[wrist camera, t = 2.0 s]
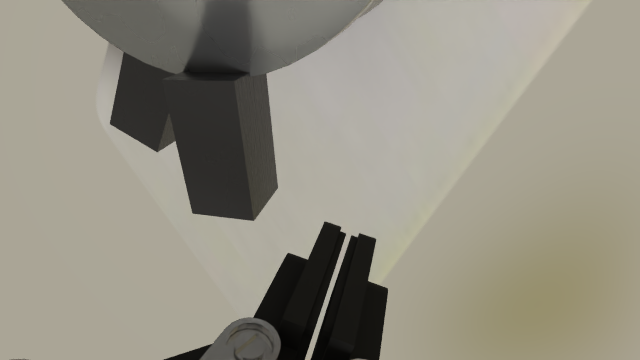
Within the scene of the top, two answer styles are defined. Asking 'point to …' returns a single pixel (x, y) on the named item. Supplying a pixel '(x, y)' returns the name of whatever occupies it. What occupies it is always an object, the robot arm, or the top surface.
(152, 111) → the cooker pot
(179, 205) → the top surface
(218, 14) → the cooker lid
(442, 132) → the top surface
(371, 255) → the robot arm
